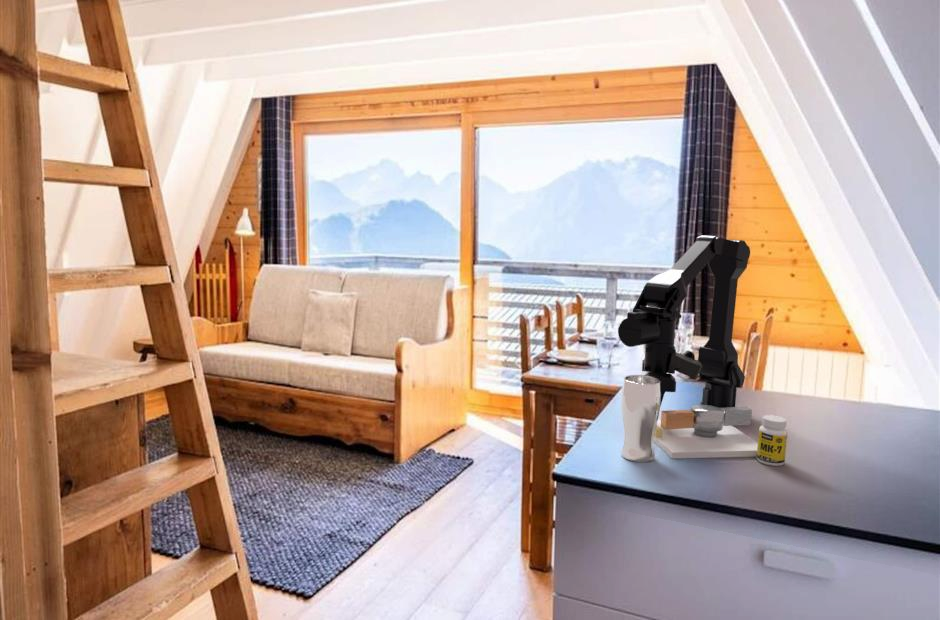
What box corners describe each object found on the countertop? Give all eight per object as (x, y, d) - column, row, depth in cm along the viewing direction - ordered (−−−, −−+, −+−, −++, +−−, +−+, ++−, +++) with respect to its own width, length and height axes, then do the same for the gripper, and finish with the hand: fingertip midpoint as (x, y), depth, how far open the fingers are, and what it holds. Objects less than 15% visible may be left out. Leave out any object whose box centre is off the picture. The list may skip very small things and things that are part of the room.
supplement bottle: (755, 463, 118) (759, 419, 117) (757, 455, 122) (760, 412, 121) (784, 468, 116) (788, 423, 115) (785, 459, 120) (789, 416, 119)
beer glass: (636, 466, 116) (640, 386, 114) (611, 453, 122) (615, 376, 120) (665, 459, 119) (669, 381, 117) (639, 447, 125) (643, 373, 123)
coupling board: (720, 423, 140) (721, 411, 140) (768, 456, 122) (769, 442, 121) (636, 425, 139) (636, 412, 138) (671, 458, 120) (672, 444, 119)
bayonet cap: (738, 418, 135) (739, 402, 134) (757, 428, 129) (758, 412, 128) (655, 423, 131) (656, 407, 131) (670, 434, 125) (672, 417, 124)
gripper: (705, 352, 122) (700, 431, 125) (696, 334, 140) (691, 403, 143) (645, 349, 125) (641, 425, 127) (643, 332, 143) (640, 399, 145)
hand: (655, 412), depth 136 cm, fingers closed
